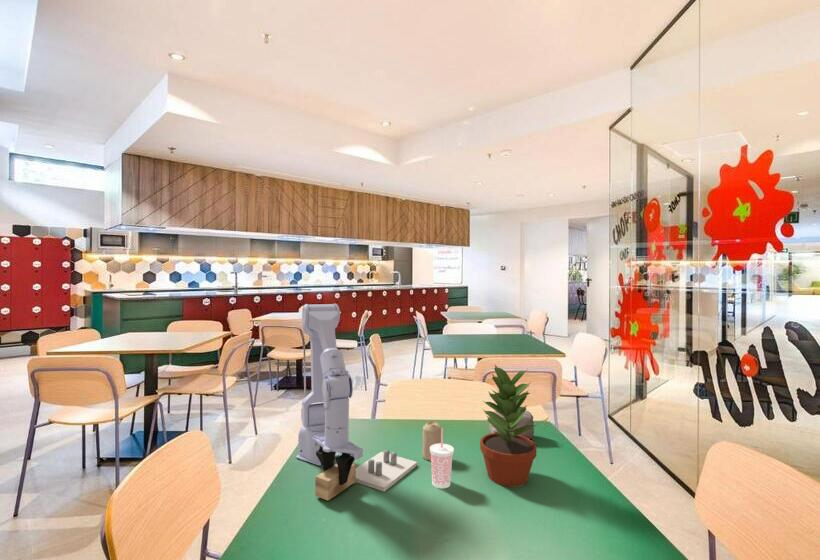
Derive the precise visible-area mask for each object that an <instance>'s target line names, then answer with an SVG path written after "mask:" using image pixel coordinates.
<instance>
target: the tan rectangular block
mask: <svg viewBox="0 0 820 560" xmlns="http://www.w3.org/2000/svg"><path fill="white" fill-rule="evenodd" d="M356 468H357V464H356V463H354V462H353V464H352V466H351V469H350V472H349V476H348V480H347V482H346V483H345V484H343V485H340V484H339V471H338V465H337V463H336V464H334V466H333V467H331V468H329V469H328V470H326V471H324V472H320V473H319V474H318V475H315V477H314V478H315V482H314V483H315V485H314V487H315V488H314V489H315V490H314V491H315V492H314V495H315V497H318V498H320V499H322V500H326V501H330V500H332V499H333V498H335V497H336V496H338V495H339V494H340V493H341V492H343V491H344V490H346V489H348V488H349V487H350V486H351V485H354V484H355V483H357V482H356Z"/></svg>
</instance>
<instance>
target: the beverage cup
mask: <svg viewBox="0 0 820 560" xmlns="http://www.w3.org/2000/svg"><path fill="white" fill-rule="evenodd" d="M454 451H455V448H454V446H452V445H451V444H447V443H444V428H443V427H442V428H441V443H439V444H434V445H432V446H430V453H431V461H430V463H431V465H430V467H431V484H432V486H433V487H434V488H437V489H446V488H449V487H450V486H451V479H452V465H453V455H454Z"/></svg>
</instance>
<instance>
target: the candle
mask: <svg viewBox="0 0 820 560" xmlns="http://www.w3.org/2000/svg"><path fill="white" fill-rule="evenodd" d="M441 428H443V427H442V426H441V425H440V424H439V423H438V422H437V421H435V420H434V421H433V420H430V421H428V422H426V423H425V424H424V425H423V426H422V458H423V459H424V460H426V461H428V460H429V462H431V453H430V446H432V445H434V444H439V443H441Z"/></svg>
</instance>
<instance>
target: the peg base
mask: <svg viewBox="0 0 820 560" xmlns="http://www.w3.org/2000/svg"><path fill="white" fill-rule="evenodd" d="M397 455H398V453H397V452H396V451H391V453H390V450H389V449H384V450H383V451H381V452H378V453H377V454H376V455H373V456H372V457H371V458H369V459H368V460H366V461H365V462H363V463H361V464H360V465H358V466H356V482H355V483H358V484H361V485H363V486H366V487H370V488H372V489H375V490H378V491H381V492H386V491H387V490H388V489H390V488H391V487H392V486H393V485H394V484H396V483H397V482H398V481H400V479H402V478H403V477H405V476H406V475H407V474H408V473H410V472H411V471H412V470H413V469H414V468H415V469H416V468H417V466H418V462H417V461H415V460H412V459H408V458H405V457H401V456H397Z"/></svg>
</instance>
